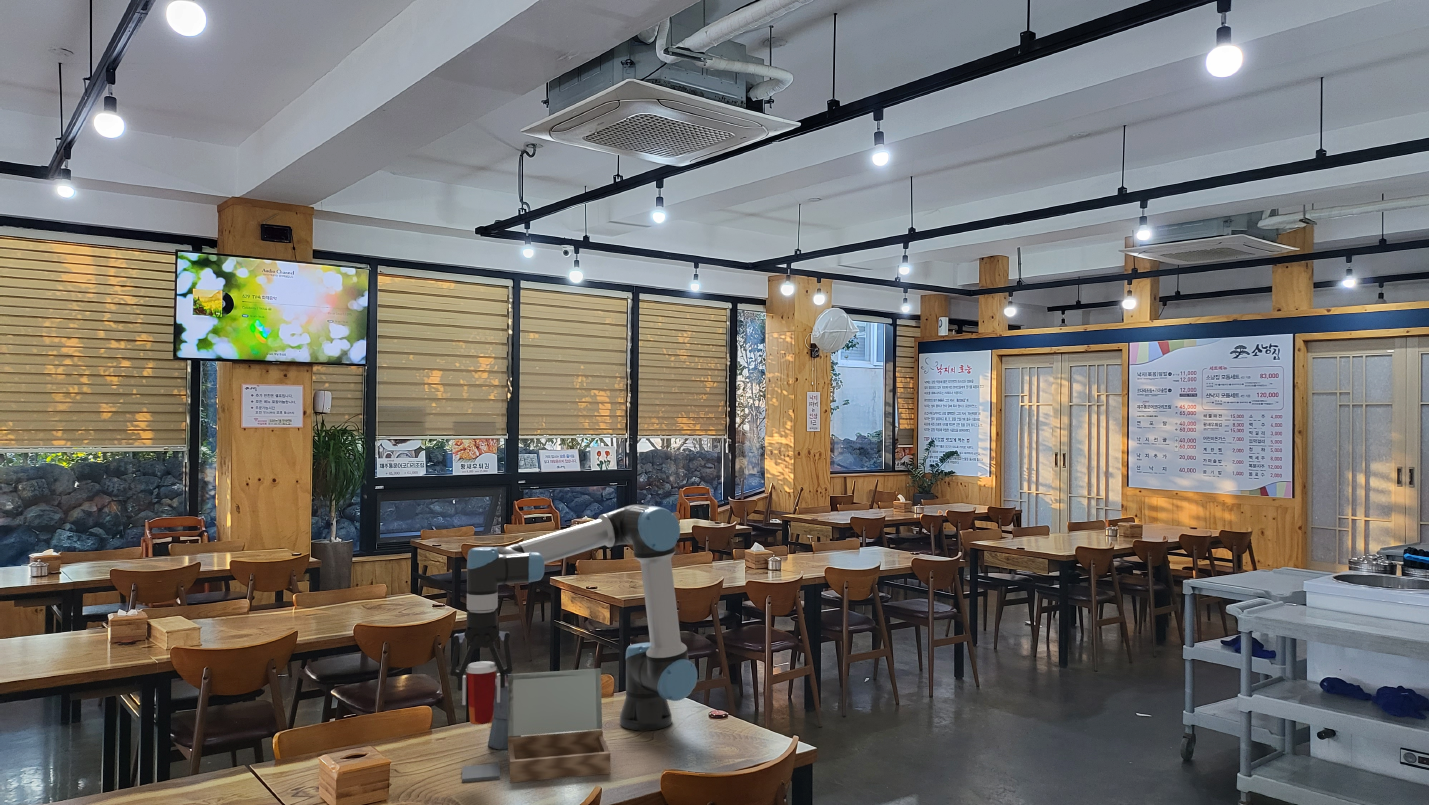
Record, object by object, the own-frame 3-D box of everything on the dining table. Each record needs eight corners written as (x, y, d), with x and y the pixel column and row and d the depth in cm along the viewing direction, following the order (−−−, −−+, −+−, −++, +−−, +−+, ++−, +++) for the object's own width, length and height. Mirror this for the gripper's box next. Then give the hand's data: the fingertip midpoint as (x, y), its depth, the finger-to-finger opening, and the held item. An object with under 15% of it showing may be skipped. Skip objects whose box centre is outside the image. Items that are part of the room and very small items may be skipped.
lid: (602, 728, 245) (601, 728, 246) (600, 668, 248) (600, 668, 249) (508, 736, 239) (507, 736, 240) (508, 674, 242) (507, 674, 243)
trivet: (499, 766, 235) (499, 763, 235) (499, 778, 226) (500, 775, 226) (462, 769, 232) (462, 766, 232) (461, 782, 224) (461, 779, 224)
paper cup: (503, 718, 232) (503, 661, 232) (486, 727, 225) (486, 669, 225) (476, 715, 235) (476, 659, 235) (458, 724, 227) (458, 666, 228)
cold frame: (602, 752, 244) (602, 730, 245) (610, 773, 230) (610, 749, 230) (507, 761, 238) (508, 737, 239) (510, 782, 223) (510, 757, 224)
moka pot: (522, 752, 245) (523, 676, 246) (468, 748, 248) (469, 673, 249) (536, 741, 254) (537, 667, 255) (484, 737, 257) (485, 665, 258)
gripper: (523, 605, 237) (522, 695, 236) (439, 609, 232) (438, 701, 231) (524, 610, 230) (523, 703, 229) (438, 614, 225) (437, 709, 224)
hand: (481, 702), depth 230 cm, fingers closed on paper cup, 8 cm apart
